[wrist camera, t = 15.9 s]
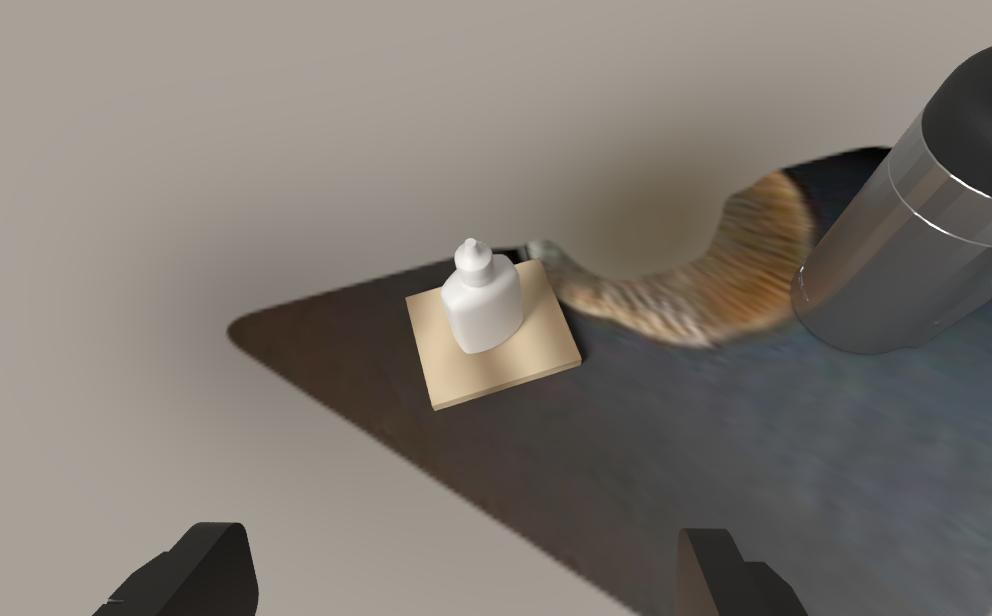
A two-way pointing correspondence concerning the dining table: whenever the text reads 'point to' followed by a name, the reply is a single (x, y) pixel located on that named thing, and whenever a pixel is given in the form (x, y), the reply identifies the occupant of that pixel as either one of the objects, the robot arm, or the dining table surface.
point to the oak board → (513, 362)
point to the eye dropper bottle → (482, 298)
